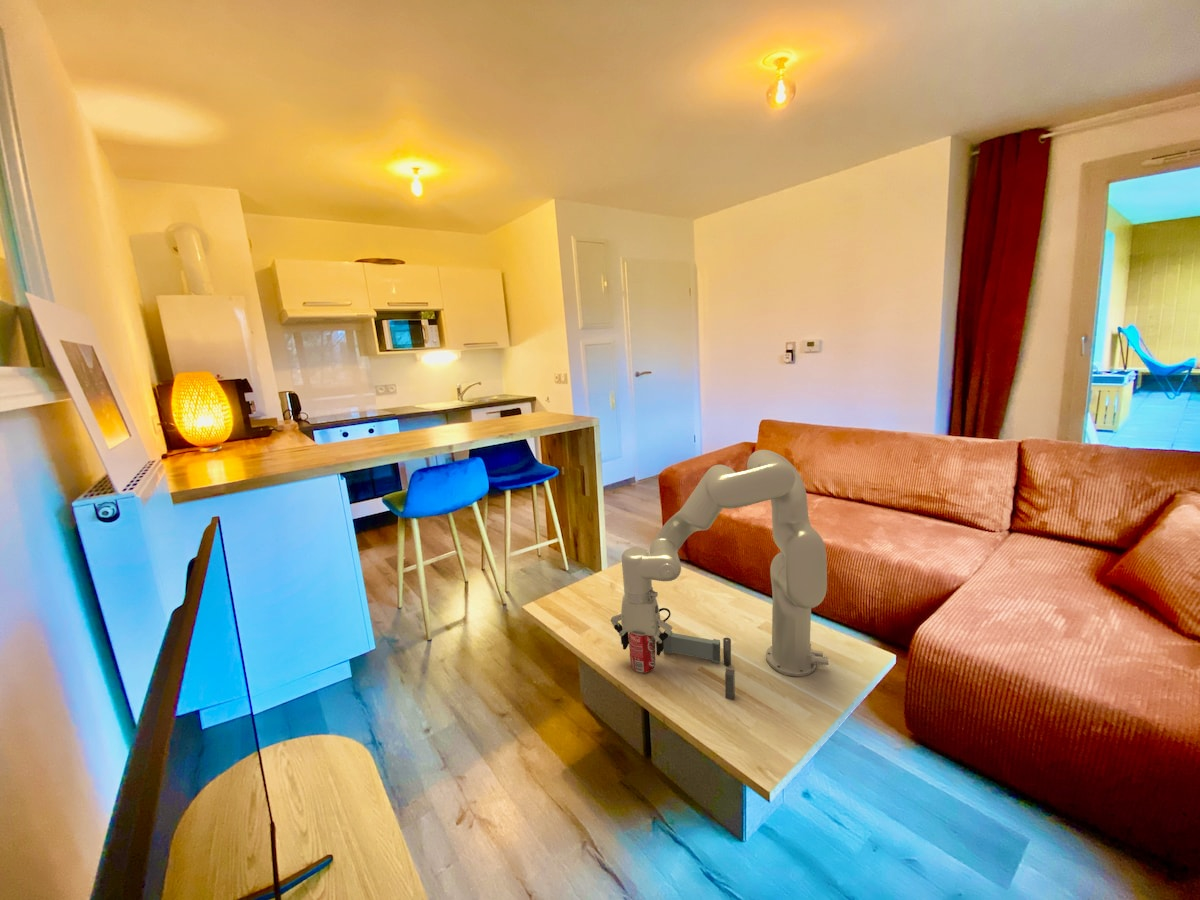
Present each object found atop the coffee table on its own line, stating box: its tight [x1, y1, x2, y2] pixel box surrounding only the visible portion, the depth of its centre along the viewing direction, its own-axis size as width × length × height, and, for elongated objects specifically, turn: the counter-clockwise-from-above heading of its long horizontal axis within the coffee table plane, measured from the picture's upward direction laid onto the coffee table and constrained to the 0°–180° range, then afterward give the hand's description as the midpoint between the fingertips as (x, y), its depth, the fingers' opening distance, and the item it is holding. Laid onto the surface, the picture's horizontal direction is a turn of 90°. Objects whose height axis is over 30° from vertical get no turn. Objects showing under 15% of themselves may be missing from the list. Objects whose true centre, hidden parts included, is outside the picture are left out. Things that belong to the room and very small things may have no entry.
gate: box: [663, 630, 721, 664], centre depth 132 cm, size 16×2×6 cm, turn 67°
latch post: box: [724, 668, 736, 701], centre depth 117 cm, size 2×2×7 cm
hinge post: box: [722, 636, 732, 667], centre depth 128 cm, size 2×2×8 cm
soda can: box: [628, 632, 656, 674], centre depth 129 cm, size 7×7×12 cm
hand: (642, 649), depth 129 cm, fingers open, 9 cm apart
